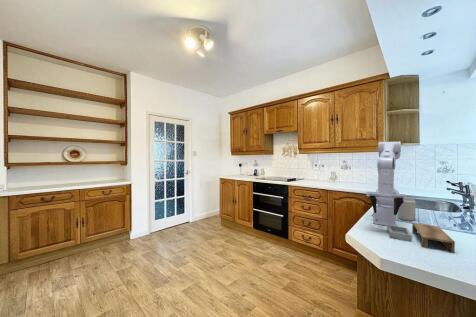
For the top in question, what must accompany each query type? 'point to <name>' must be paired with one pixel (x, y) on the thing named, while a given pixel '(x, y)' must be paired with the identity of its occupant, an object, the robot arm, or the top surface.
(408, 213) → the can
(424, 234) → the shelf
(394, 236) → the tray
